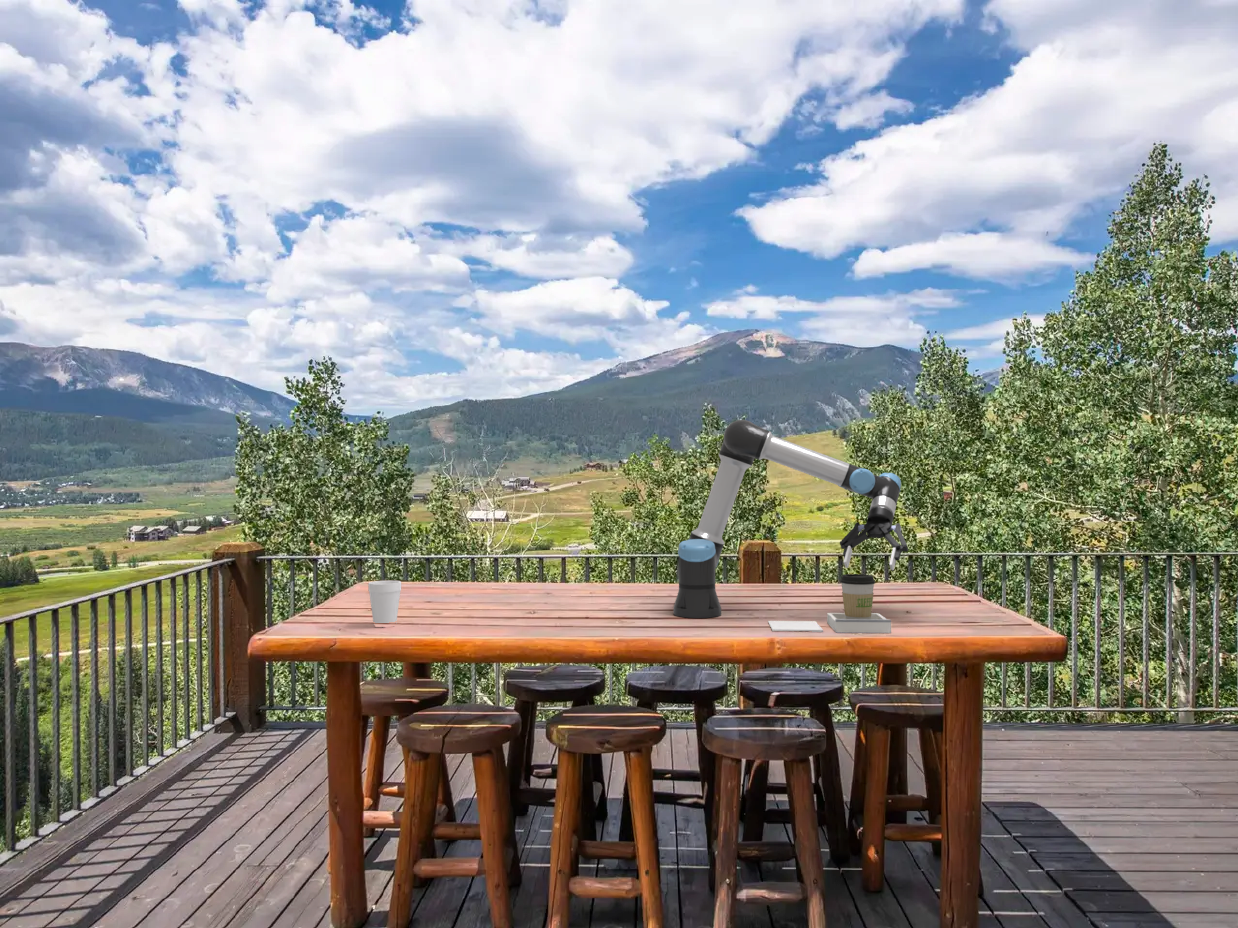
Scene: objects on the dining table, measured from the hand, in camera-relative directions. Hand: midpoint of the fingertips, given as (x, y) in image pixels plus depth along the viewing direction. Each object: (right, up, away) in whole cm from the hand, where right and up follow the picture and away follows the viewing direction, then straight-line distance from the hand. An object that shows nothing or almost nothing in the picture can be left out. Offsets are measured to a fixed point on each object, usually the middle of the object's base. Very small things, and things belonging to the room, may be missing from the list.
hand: (868, 566), depth 242 cm
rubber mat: (-24, -17, -8) cm, 30 cm away
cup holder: (-6, -17, -9) cm, 20 cm away
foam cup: (-145, -18, -1) cm, 146 cm away
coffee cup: (-6, -17, -9) cm, 20 cm away
